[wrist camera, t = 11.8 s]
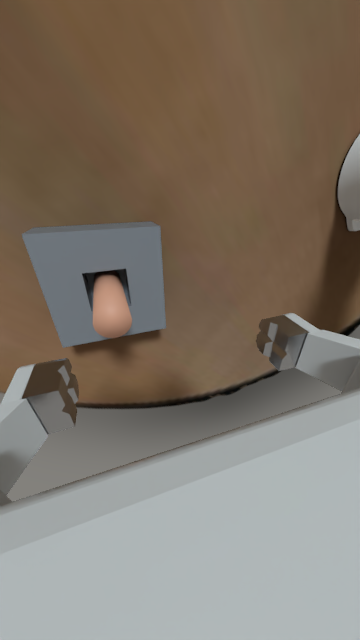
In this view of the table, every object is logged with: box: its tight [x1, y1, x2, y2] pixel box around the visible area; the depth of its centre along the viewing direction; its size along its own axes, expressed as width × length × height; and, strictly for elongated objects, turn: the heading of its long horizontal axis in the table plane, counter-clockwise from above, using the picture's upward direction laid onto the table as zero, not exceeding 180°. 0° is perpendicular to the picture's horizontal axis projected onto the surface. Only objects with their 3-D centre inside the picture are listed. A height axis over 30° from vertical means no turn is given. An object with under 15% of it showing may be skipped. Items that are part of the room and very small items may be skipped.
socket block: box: [22, 222, 166, 348], centre depth 29 cm, size 14×14×5 cm
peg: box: [93, 270, 132, 338], centre depth 25 cm, size 4×4×12 cm
